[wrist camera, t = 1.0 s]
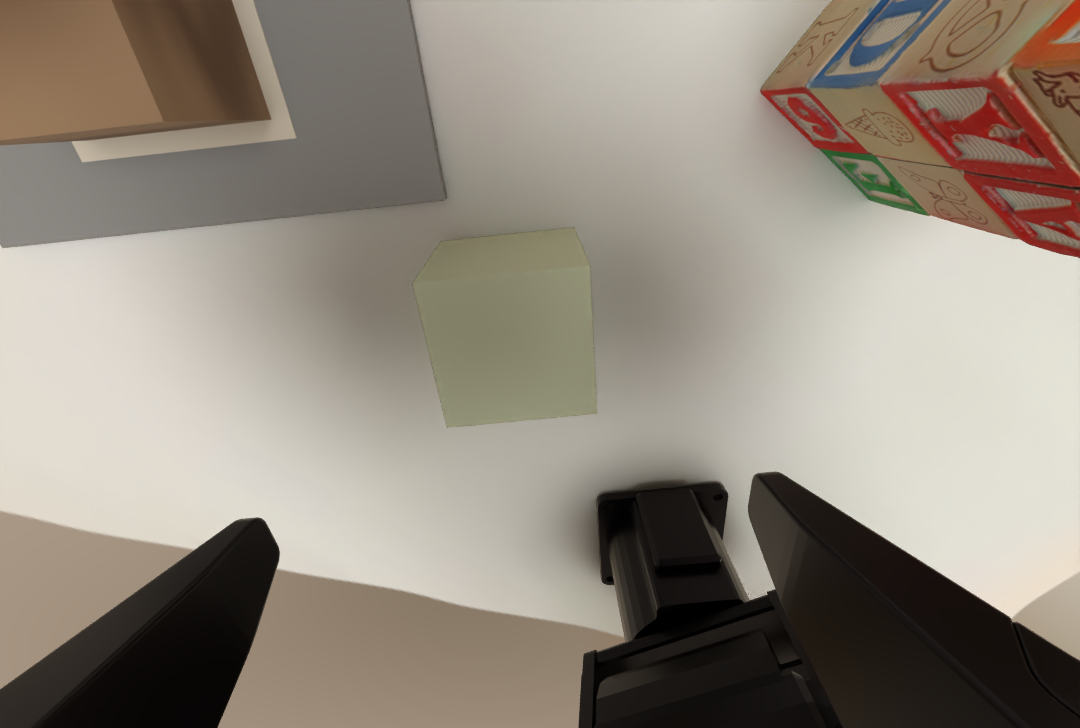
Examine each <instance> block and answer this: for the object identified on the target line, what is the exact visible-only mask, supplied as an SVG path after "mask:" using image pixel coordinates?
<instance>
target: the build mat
mask: <svg viewBox="0 0 1080 728" xmlns="http://www.w3.org/2000/svg"><path fill="white" fill-rule="evenodd" d="M232 2H233V5H234V8H235V11H236V14H237V17H238V20H239V23H240V26H241V29H242V32H243V35H244V38H245V41H246V44H247V47H248V50H249V53H250V56H251V59H252V62H253V65H254V68H255V71H256V74H257V77H258V80H259V83H260V86H261V89H262V92H263V95H264V98H265V101H266V104H267V107H268V110H269V113H270V116H271V119H272V120H264V121H255V122H246V123H237V124H228V125H220V126H211V127H202V128H193V129H185V130H176V131H167V132H158V133H149V134H141V135H132V136H123V137H114V138H106V139H97V140H86V141H69V142H52V143H35V144H18V145H1V146H0V245H1V246H2V248H8V247H17V246H27V245H36V244H45V243H54V242H64V241H73V240H82V239H91V238H100V237H110V236H119V235H128V234H137V233H146V232H156V231H165V230H174V229H183V228H192V227H202V226H211V225H220V224H229V223H238V222H248V221H257V220H266V219H275V218H284V217H294V216H303V215H312V214H321V213H330V212H340V211H349V210H358V209H367V208H377V207H386V206H395V205H404V204H413V203H423V202H432V201H441V200H445V199H446V194H445V189H444V183H443V178H442V172H441V167H440V162H439V156H438V151H437V146H436V140H435V135H434V130H433V124H432V119H431V113H430V108H429V103H428V97H427V92H426V87H425V81H424V76H423V71H422V65H421V60H420V54H419V49H418V44H417V38H416V33H415V28H414V22H413V17H412V12H411V6H410V1H409V0H232Z"/></svg>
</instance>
